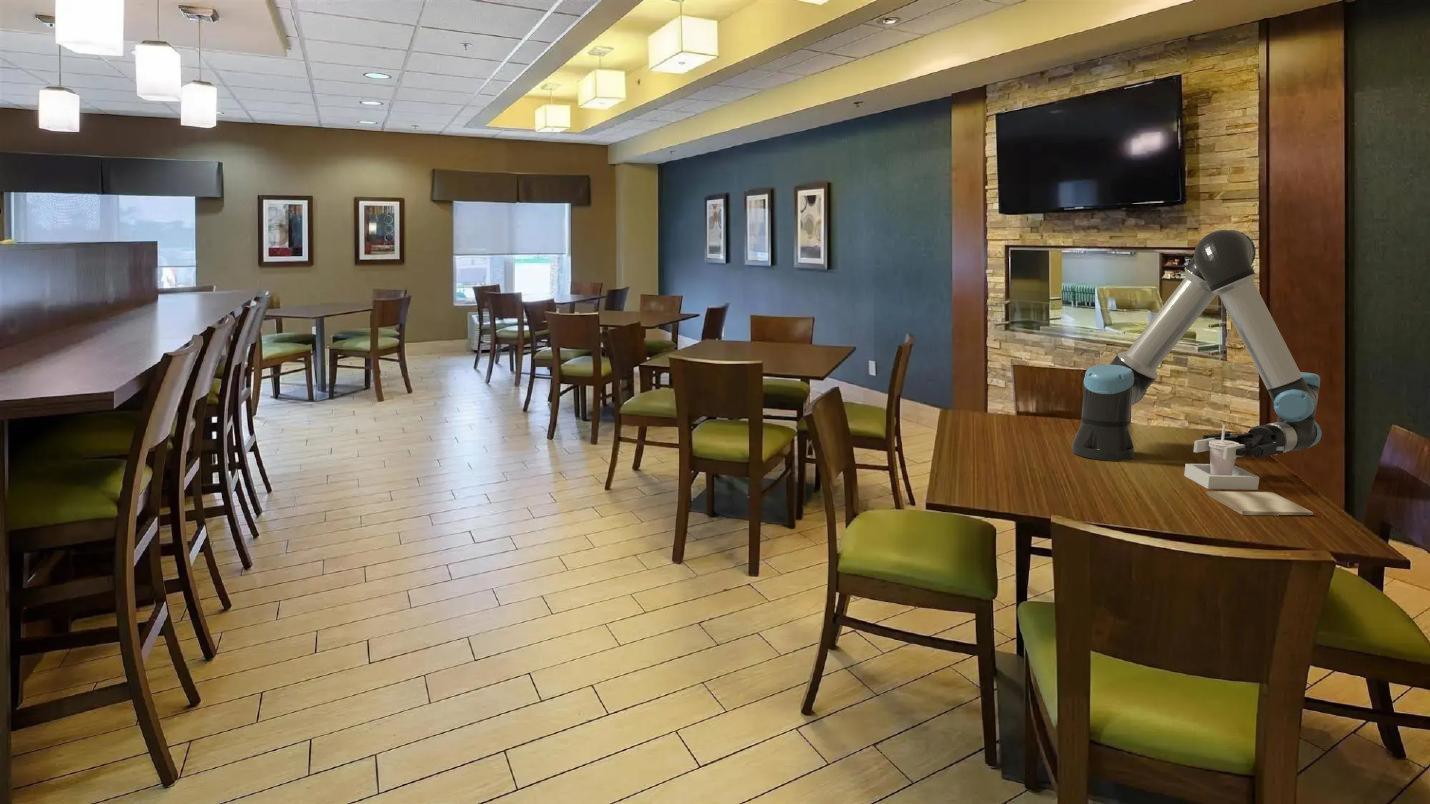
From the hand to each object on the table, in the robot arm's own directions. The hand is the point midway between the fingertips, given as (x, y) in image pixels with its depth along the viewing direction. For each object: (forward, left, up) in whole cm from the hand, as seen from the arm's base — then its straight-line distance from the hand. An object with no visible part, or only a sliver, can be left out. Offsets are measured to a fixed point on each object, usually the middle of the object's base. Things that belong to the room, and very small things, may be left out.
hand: (1210, 449), depth 188 cm
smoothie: (+4, +3, -9) cm, 10 cm away
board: (+3, -14, -8) cm, 17 cm away
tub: (+4, +3, -8) cm, 10 cm away
